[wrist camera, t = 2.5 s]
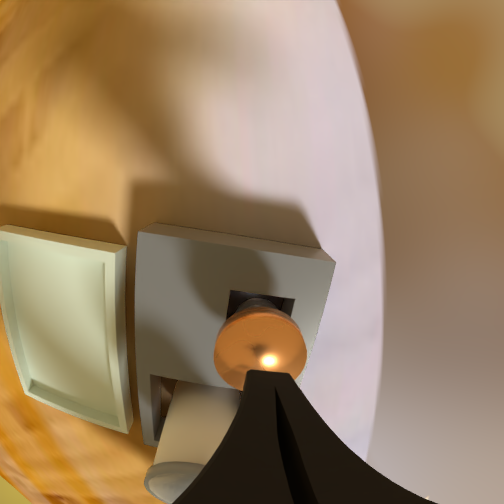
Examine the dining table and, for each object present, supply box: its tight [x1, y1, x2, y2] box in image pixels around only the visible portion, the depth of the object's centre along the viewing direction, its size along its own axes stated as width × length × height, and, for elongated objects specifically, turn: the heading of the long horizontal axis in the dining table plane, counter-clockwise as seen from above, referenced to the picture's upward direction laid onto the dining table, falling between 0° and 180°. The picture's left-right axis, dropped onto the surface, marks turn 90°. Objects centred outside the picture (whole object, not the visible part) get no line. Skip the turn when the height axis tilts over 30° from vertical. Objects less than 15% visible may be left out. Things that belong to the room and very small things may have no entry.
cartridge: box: [144, 380, 240, 504], centre depth 14 cm, size 5×5×8 cm
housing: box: [135, 223, 336, 447], centre depth 16 cm, size 15×9×2 cm, turn 170°
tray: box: [0, 224, 134, 434], centre depth 16 cm, size 14×10×2 cm
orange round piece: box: [213, 298, 307, 391], centre depth 12 cm, size 4×4×4 cm
